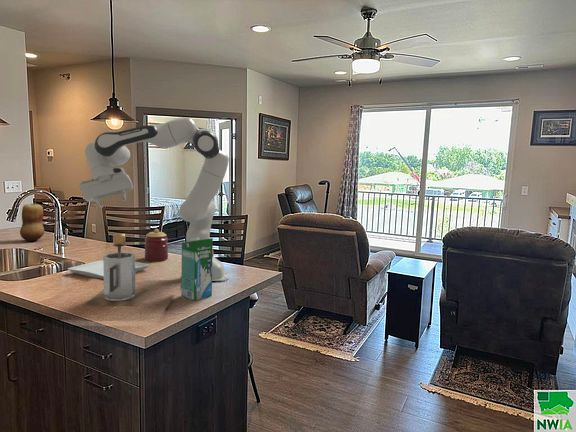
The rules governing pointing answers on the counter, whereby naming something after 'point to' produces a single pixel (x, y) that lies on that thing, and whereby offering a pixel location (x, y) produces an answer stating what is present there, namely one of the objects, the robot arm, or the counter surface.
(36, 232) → the butternut squash
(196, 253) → the milk carton
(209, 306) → the counter surface
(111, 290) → the press jug
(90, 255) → the counter surface
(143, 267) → the square plate
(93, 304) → the brown flat square board
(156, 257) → the canister
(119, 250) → the plunger
